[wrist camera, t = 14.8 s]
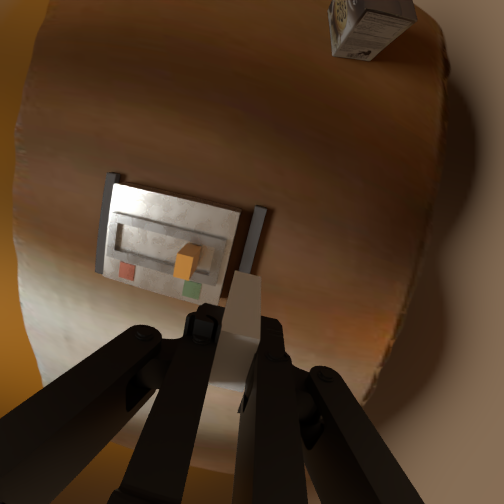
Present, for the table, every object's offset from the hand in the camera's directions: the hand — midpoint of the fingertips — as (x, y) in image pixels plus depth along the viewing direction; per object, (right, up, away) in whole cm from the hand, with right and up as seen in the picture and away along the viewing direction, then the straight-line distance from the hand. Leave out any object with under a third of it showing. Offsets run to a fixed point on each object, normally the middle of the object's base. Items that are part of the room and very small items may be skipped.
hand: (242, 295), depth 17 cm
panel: (-11, +4, +27) cm, 29 cm away
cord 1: (-22, +7, +26) cm, 35 cm away
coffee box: (+15, +35, +17) cm, 42 cm away
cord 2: (0, +1, +27) cm, 27 cm away
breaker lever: (-7, +2, +23) cm, 24 cm away
